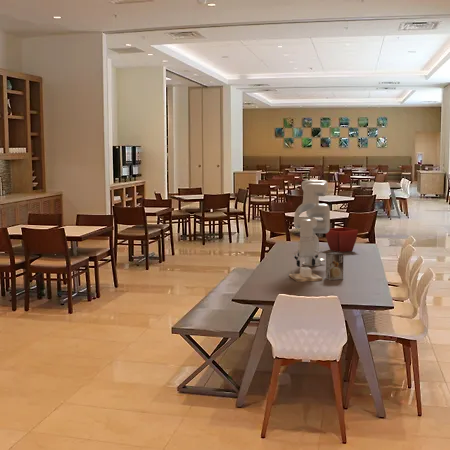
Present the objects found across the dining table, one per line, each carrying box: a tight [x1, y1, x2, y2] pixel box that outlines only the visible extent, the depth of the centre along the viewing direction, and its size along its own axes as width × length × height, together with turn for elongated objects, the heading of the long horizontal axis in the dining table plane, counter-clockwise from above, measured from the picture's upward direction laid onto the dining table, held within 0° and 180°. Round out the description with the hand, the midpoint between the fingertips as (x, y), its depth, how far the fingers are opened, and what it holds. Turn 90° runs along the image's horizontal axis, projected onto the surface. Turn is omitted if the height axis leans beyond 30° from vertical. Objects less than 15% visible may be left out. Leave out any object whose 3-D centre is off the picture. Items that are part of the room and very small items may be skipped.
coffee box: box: [325, 251, 344, 281], centre depth 383 cm, size 9×6×16 cm
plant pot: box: [324, 226, 359, 253], centre depth 481 cm, size 19×19×17 cm
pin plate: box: [288, 272, 323, 283], centre depth 385 cm, size 16×16×6 cm
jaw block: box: [299, 266, 313, 277], centre depth 384 cm, size 5×7×5 cm
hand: (305, 266), depth 384 cm, fingers open, 9 cm apart
